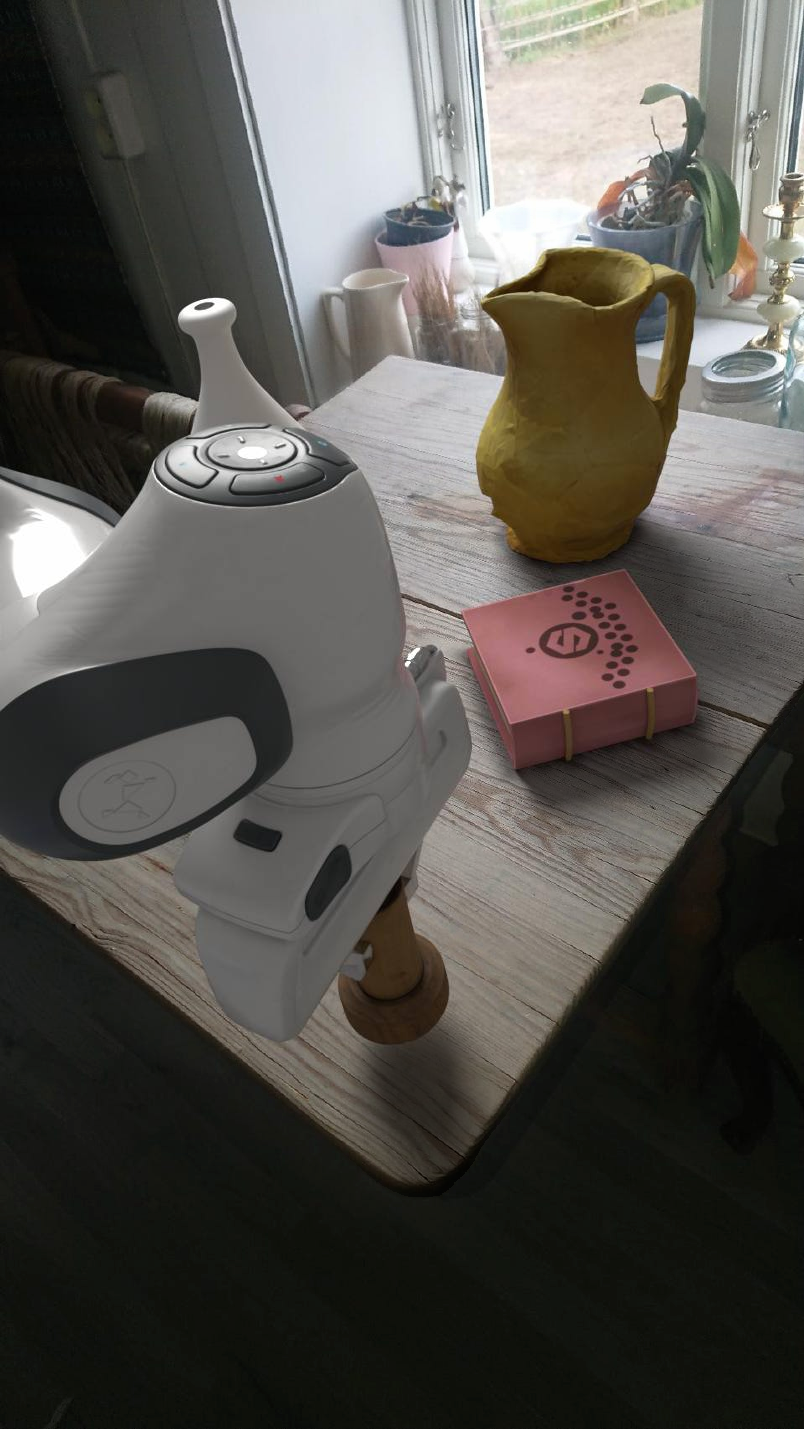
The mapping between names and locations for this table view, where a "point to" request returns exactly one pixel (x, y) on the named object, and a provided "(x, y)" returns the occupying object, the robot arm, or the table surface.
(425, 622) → the table surface
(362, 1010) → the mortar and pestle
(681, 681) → the book
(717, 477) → the table surface
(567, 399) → the pitcher
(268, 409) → the vase
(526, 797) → the table surface
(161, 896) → the table surface
